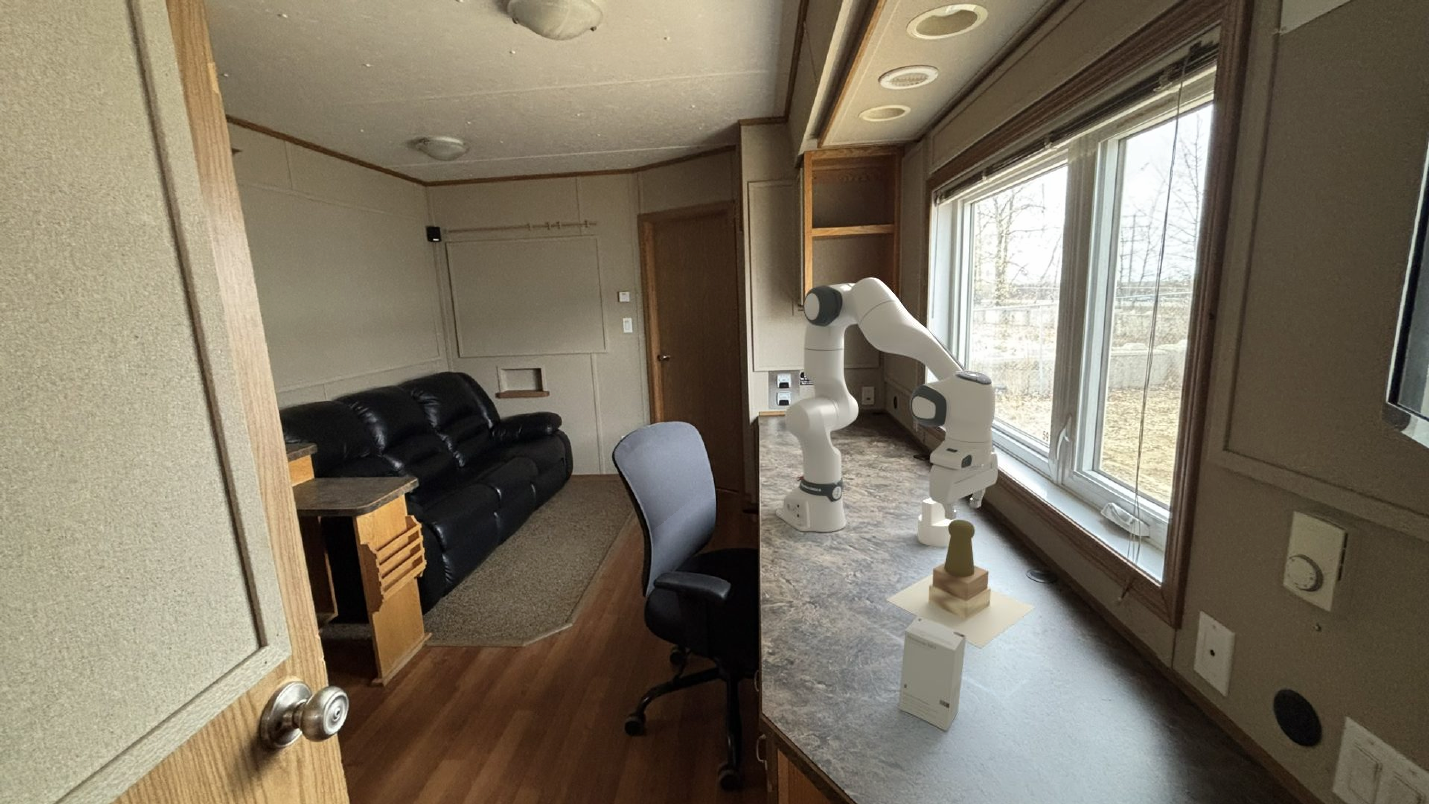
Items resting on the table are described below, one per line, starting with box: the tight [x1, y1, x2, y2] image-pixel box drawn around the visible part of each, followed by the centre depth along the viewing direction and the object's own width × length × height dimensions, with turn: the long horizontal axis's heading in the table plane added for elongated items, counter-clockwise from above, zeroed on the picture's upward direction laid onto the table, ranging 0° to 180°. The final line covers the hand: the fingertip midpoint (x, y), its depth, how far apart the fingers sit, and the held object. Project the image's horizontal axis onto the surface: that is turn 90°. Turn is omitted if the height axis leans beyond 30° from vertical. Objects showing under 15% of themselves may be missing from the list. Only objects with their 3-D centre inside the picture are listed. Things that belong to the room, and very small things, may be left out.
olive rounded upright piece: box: [944, 519, 976, 577], centre depth 119 cm, size 6×6×11 cm
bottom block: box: [928, 584, 992, 620], centre depth 121 cm, size 9×9×4 cm
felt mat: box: [885, 573, 1036, 649], centre depth 122 cm, size 22×22×1 cm
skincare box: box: [898, 615, 967, 732], centre depth 91 cm, size 8×6×15 cm
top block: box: [932, 562, 990, 601], centre depth 120 cm, size 8×8×4 cm
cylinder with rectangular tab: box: [917, 497, 954, 548], centre depth 152 cm, size 9×9×12 cm
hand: (962, 512), depth 118 cm, fingers open, 8 cm apart
